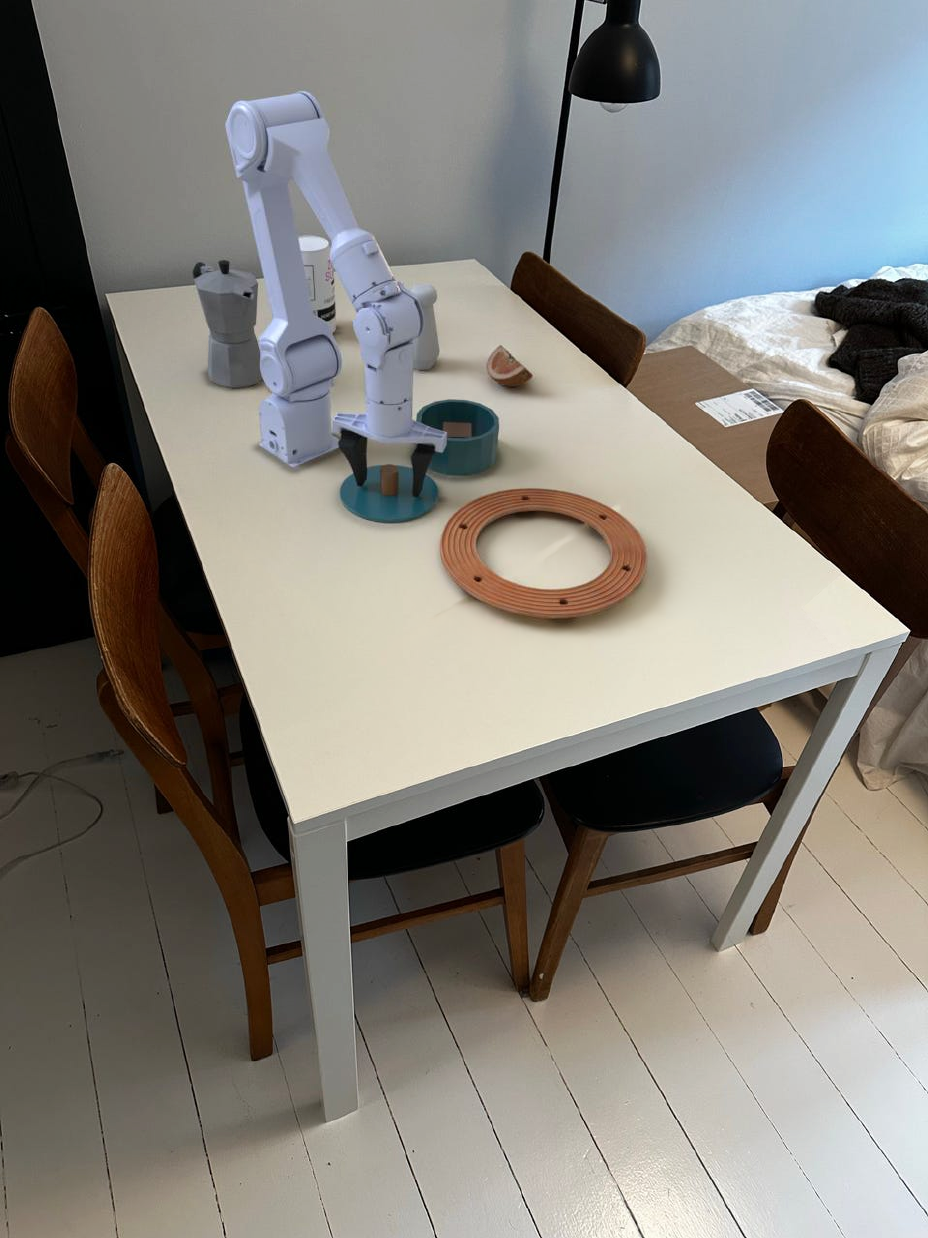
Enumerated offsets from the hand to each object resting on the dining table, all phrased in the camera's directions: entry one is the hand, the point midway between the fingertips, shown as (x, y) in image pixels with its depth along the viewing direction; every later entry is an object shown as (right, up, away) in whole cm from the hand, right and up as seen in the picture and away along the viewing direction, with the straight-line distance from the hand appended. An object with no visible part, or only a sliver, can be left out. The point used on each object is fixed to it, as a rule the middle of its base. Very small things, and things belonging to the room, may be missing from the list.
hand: (389, 487), depth 122 cm
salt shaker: (+3, +25, +31) cm, 39 cm away
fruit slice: (+17, +20, +27) cm, 38 cm away
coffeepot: (-27, +22, +25) cm, 43 cm away
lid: (0, -1, +1) cm, 1 cm away
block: (+9, +6, +9) cm, 14 cm away
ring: (+19, -10, -7) cm, 23 cm away
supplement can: (-16, +32, +38) cm, 52 cm away
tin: (+9, +6, +10) cm, 14 cm away
